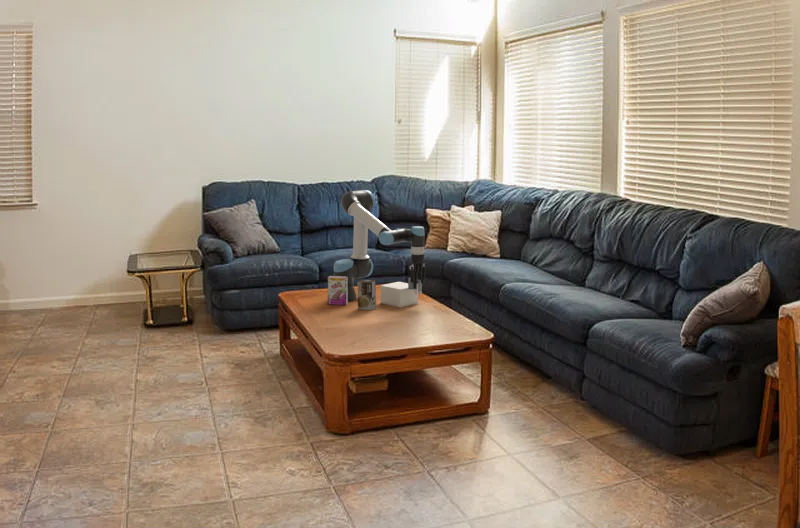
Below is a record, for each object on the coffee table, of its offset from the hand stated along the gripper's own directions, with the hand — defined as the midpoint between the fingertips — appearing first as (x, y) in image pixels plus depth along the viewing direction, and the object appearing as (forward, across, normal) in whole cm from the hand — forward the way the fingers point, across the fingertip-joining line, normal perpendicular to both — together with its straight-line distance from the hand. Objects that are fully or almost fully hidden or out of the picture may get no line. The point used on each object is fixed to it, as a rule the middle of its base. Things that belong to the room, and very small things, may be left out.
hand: (417, 294), depth 446 cm
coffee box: (+8, -22, +19) cm, 30 cm away
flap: (-2, 0, +11) cm, 11 cm away
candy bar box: (+8, -27, +38) cm, 48 cm away
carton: (+8, 0, +14) cm, 16 cm away
